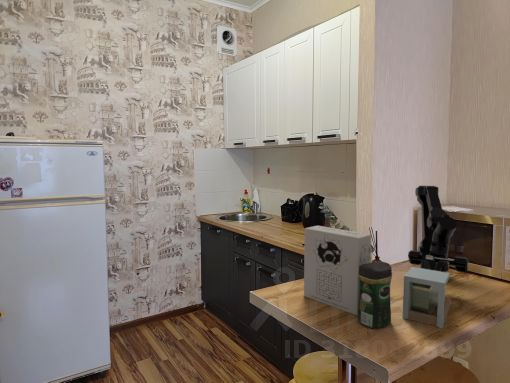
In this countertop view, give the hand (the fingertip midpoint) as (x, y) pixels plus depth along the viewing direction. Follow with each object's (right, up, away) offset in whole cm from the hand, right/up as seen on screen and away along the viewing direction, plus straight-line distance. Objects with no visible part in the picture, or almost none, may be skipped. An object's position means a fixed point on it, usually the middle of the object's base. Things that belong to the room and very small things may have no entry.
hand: (433, 282), depth 119 cm
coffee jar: (-26, -9, -15) cm, 31 cm away
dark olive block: (-6, -8, -5) cm, 11 cm away
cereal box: (-34, -7, 0) cm, 35 cm away
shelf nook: (-7, -8, -8) cm, 13 cm away
